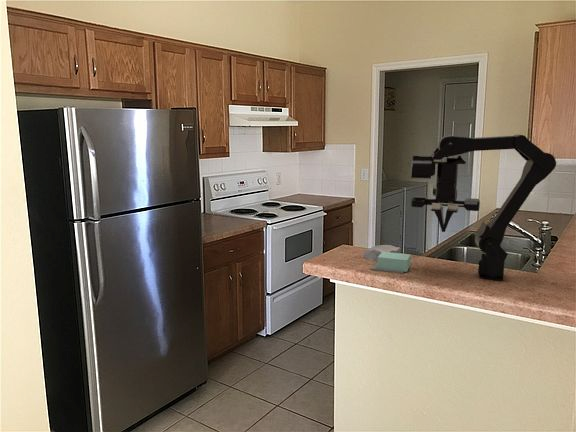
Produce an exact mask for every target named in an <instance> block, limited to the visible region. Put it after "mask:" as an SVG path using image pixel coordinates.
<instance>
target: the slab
mask: <svg viewBox="0 0 576 432" xmlns="http://www.w3.org/2000/svg"><path fill="white" fill-rule="evenodd" d="M411 261H412V254H411V253H410V254H409V253H408V254H407V253H401V254H400V253H391V252H382V253H381V254H380V255H379V256H378V260H377V261H376V262H377V268H379V269H387V270H396V271H404V273H405V272H406V273H407V272H408V270H409V269H410V267H411V265H412V264H411Z"/></svg>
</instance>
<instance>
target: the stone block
mask: <svg viewBox="0 0 576 432" xmlns="http://www.w3.org/2000/svg"><path fill="white" fill-rule="evenodd" d="M401 250H402V248H401V247H398V246H394V245H392V244H391V245H390V244H382V245H379V244H378V245H375V246H371V247H370V248H368V249H366V250H363V258H364V259H365V261H371V262H377V260H378V256H379V255H380V254H381V253H382V252H391V253H400V254H402V253H401V252H402V251H401Z"/></svg>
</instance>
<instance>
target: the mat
mask: <svg viewBox="0 0 576 432" xmlns="http://www.w3.org/2000/svg"><path fill="white" fill-rule="evenodd" d="M370 270H371V271H378V272H386V273H393V274H394V273H396V274H404V273H405V272H404V271H396V270H387V269H379V268H377V261H375V263H374V264H373V265H372V266H371V268H370Z"/></svg>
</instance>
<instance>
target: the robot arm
mask: <svg viewBox="0 0 576 432" xmlns="http://www.w3.org/2000/svg"><path fill="white" fill-rule="evenodd" d="M495 150H497V151H498V150H515V152H517V153H518V154H519V156H520V157H521V158H523V159H524V160H525V161H526V162H525V164H524V166H523V169H522V171H521V175H520V178H519V180H518V182H516V184H515V186H514V188H513V189H512V191H511V192H509V194H508V196H507V198H506V199H505V201H504V202H503V203H502V205H501V207H500V208H499V209H498V211H497V213H496V214H495V216H494V217H493V218H492V220H490V221H489V222H488V223H486V222H485V221H482V222H481V224H480V226H479V228H478V229H477V230H475V231H474V233H475V236H474V241H475V244H476V245H477V248H478V249H480V251H481V252H482V254H481V257H480V258H479V259H478V267H477V269H478V270H477V271H478V272H477V274H478V275H479V279H486V280H487V279H488V280H495V281H504V279H505V278H504V276H505V275H504V272H505V261H506V259H507V257H508V252H507V251H506V250H505V249H504V248H503V247H502V246H501V245H502V242H503V240H504V237H505V234H506V230H507V228H508V226H509V225H510V223H511V222H512V221H513V219H514V218H515V216H516V215H517V213H518V212H519V211H520V208H522V206H523V205H524V203H525V202H526V200H527V199H528V197H529V195H531V192H533V190H534V189H535V187H536V186H537V185H538V184H539V183H541V182H542V181H544V180H545V179H546V178H547V177H548V176H549V175H550V174H551V173H552V172H554V170H555V168H556V166H557V161H556V158H555V156H554V155H553V154H552V153H549V152H545V151H543V150H542V149H541V148H540V147H538V146H537V145H536V144H534V142H532V141H531V140H529V139H528V138H527V136H525V135H523V134H513V135H503V136H502V135H501V136H500V135H499V136H485V137H483V136H482V137H467V136H457V135H448V134H447V135H444V136H442V137H441V138H439V140H438V142H437V147H436V149H434V151H433V152H432V153H431V155H418V154H417V155H416V154H413V155H412V157H411V159H412V160H411V165H410V179H421V180H424V179H425V180H429V179H430V180H431V179H432V177H433V176H435V175H436V181H435V182H436V184H433V187H432V196H433V197H434V196H435V197H434V198H428V195H419V194H418V195H414V196H413V198H411V203H410V204H411V207H412V208H423V207H424V206H425V205H426V206H431V208H430V211H431V212H434V213H435V216H436V217H437V220H438V223H439V227H440V230H441V232H442V233H443V232H444V233H445V232H446V230H447V228H448V225H449V222H450V220H451V218H452V217H453V214H455V213H456V214H457V213H458V212H459V208H464V210H466V211H468V212H469V211H471V212H479V211H480V206H481V200H480V199H479V198H470V197H466V198H465V199H464V200H458V189H457V186H458V174H459V173H458V171H459V165H465V164H466V163H467V162H466V161H465V160H464V159H463V157H462V156H461V155H463V154H466V153H471V152H479V151H495ZM455 156H456V157H455ZM442 159H445V160H442ZM436 164H437V165H436ZM436 166H437V167H436ZM444 207H447V209H446V211H445V217H444Z"/></svg>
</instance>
